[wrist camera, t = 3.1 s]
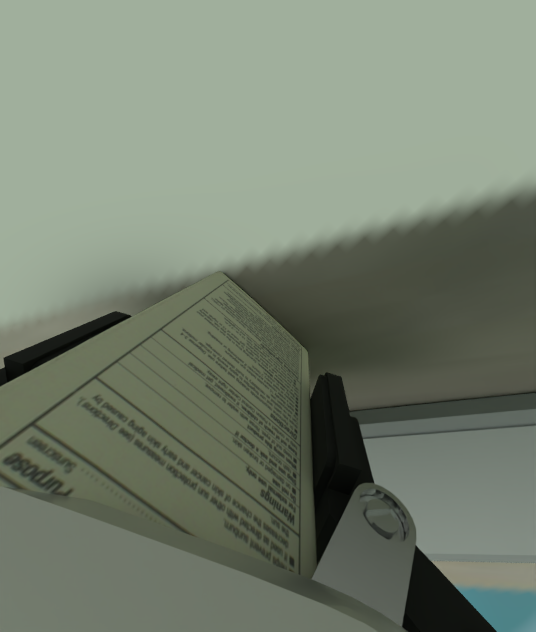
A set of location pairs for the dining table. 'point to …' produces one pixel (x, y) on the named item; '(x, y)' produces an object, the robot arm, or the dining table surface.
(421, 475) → the metal tray
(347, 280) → the dining table surface
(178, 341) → the skincare box
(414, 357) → the dining table surface
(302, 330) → the dining table surface
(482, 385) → the dining table surface
